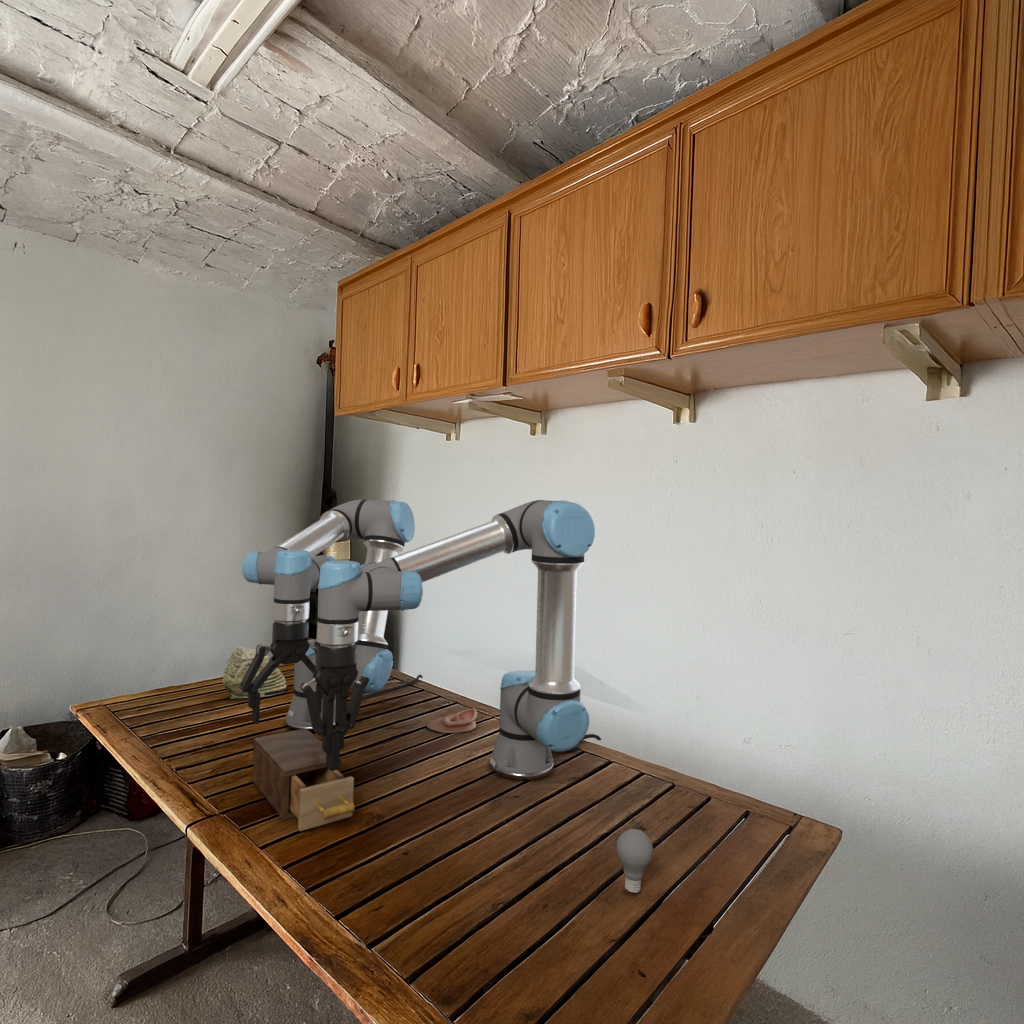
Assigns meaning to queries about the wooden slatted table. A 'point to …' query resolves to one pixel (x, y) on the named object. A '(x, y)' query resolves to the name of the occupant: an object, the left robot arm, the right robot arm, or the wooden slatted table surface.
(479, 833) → the wooden slatted table surface
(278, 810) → the cabinet
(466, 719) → the anatomical model
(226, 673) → the fossil
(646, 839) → the light bulb
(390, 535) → the left robot arm
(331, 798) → the drawer
